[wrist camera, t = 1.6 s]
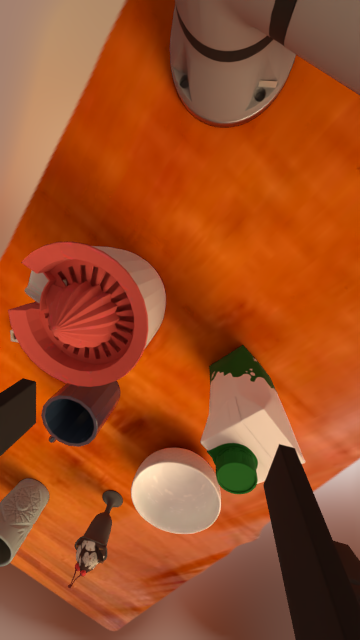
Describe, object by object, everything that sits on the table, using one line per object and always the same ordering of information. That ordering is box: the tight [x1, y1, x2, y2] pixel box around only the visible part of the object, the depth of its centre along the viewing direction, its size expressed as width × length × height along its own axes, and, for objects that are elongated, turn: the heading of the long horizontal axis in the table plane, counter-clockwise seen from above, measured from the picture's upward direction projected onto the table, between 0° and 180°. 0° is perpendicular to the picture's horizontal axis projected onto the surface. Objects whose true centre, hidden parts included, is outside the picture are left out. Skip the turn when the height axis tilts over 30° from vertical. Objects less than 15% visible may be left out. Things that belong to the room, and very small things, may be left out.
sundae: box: [68, 491, 123, 588], centre depth 48 cm, size 7×7×15 cm
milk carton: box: [200, 345, 305, 494], centre depth 32 cm, size 9×9×20 cm
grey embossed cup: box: [0, 479, 49, 566], centre depth 52 cm, size 10×10×12 cm
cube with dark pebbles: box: [10, 330, 18, 342], centre depth 45 cm, size 2×2×2 cm
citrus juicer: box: [8, 242, 166, 387], centre depth 31 cm, size 16×17×20 cm
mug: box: [42, 381, 120, 446], centre depth 43 cm, size 13×10×10 cm
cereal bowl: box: [131, 447, 221, 534], centre depth 46 cm, size 17×17×7 cm
